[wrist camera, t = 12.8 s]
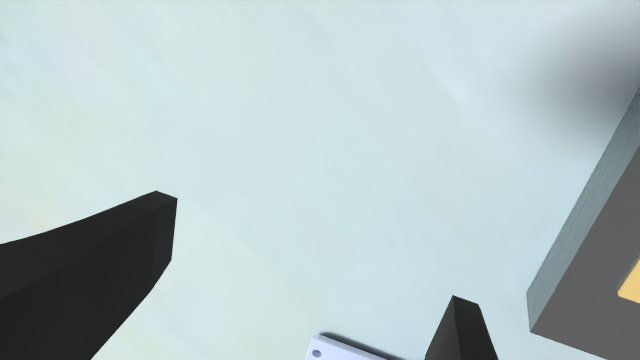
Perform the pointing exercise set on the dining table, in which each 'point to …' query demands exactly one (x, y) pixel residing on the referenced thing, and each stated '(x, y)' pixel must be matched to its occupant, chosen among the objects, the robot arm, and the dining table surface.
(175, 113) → the dining table surface
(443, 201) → the dining table surface
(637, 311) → the rack plate
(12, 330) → the robot arm
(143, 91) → the dining table surface
